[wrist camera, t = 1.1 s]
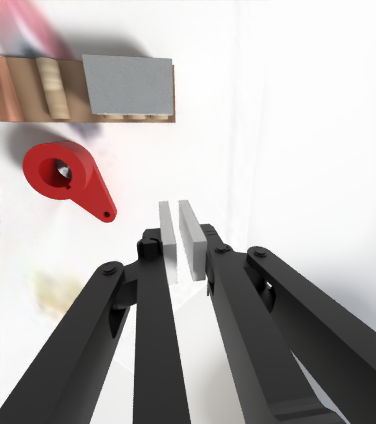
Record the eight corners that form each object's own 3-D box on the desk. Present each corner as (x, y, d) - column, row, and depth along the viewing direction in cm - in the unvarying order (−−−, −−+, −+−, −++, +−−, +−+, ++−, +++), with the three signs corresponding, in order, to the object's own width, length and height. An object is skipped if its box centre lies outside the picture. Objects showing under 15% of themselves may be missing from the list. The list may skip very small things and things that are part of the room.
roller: (70, 119, 34) (70, 118, 32) (52, 118, 33) (50, 118, 31) (58, 64, 31) (56, 59, 29) (37, 61, 30) (33, 56, 27)
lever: (32, 157, 36) (8, 162, 30) (73, 131, 36) (57, 131, 30) (96, 227, 44) (87, 243, 38) (131, 206, 43) (127, 219, 37)
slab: (99, 115, 32) (92, 113, 28) (90, 63, 29) (81, 54, 25) (171, 115, 34) (173, 114, 30) (169, 67, 31) (171, 58, 27)
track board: (15, 122, 33) (-17, 120, 27) (-6, 58, 30) (-49, 39, 24) (174, 122, 38) (179, 121, 31) (173, 66, 34) (177, 52, 28)
